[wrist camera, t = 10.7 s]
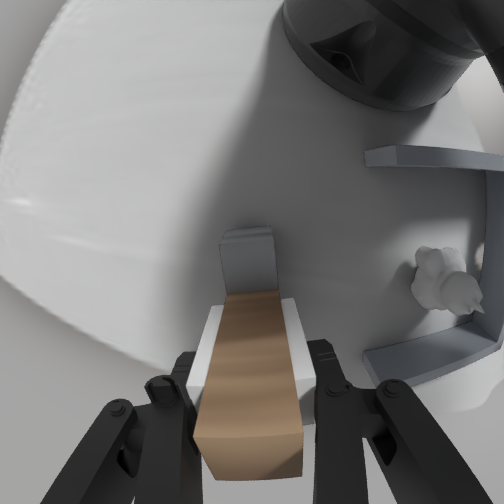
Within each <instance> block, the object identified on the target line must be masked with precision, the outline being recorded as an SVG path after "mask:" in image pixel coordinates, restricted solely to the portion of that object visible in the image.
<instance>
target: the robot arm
mask: <svg viewBox="0 0 504 504" xmlns="http://www.w3.org/2000/svg"><path fill="white" fill-rule="evenodd" d="M282 17H283V25H284V29H285V32H286V35H287V37H288V39H289V42H290V43H291V45H292V47H293V49H294V50H295V52H296V53H297V54H298V56H299V57H300V58H301V60H302V61H303V62H304V63H305V64H306V65H307V66H308V67H309V68H310V69H311V70H312V71H313V72H314V73H315V74H316V75H317V76H318V77H319V78H321V79H322V80H323V81H324V82H326V83H327V84H328V85H330V86H331V87H333V88H334V89H336V90H337V91H339V92H340V93H342V94H344V95H346V96H348V97H349V98H351V99H353V100H356V101H358V102H360V103H363V104H365V105H368V106H371V107H374V108H378V109H383V110H389V111H410V110H415V109H418V108H421V107H424V106H426V105H429V104H432V103H434V102H436V101H438V100H440V99H441V98H442V97H444V96H445V95H446V94H447V93H448V92H449V91H450V89H451V88H452V86H453V84H454V83H455V82H456V81H457V80H458V79H459V77H461V75H462V74H463V73H464V72H465V71H466V69H467V68H468V67H469V65H470V64H471V63H472V62H473V60H474V59H476V58H479V57H481V56H484V55H485V56H486V58H487V59H488V61H489V63H490V65H491V67H492V69H493V71H494V73H495V75H496V77H497V79H498V81H499V83H500V86H501V88H502V90H503V92H504V0H284V6H283V14H282ZM280 300H281V305H282V310H283V316H284V321H285V327H286V332H287V338H288V343H289V349H290V355H291V360H292V366H293V372H294V378H295V384H296V390H297V396H298V402H299V408H300V414H301V420H302V425H309V424H314V420H315V423H316V434H315V473H314V492H313V504H369V503H368V489H367V478H366V468H365V458H364V450H363V442H362V438H366V439H367V441H368V443H369V445H370V447H371V449H372V451H373V453H374V455H375V457H376V460H377V461H378V464H379V465H380V468H381V470H382V472H383V474H384V476H385V478H386V480H387V482H388V485H389V487H390V489H391V491H392V493H393V495H394V497H395V500H396V502H397V504H493V503H492V501H491V499H490V498H489V496H488V495H487V493H486V492H485V490H484V489H483V487H482V486H481V484H480V483H479V481H478V479H477V478H476V477H475V475H474V474H473V472H472V471H471V469H470V468H469V466H468V465H467V463H466V462H465V460H464V459H463V458H462V456H461V455H460V453H459V452H458V451H457V449H456V448H455V446H454V445H453V444H452V442H451V441H450V439H449V438H448V437H447V435H446V434H445V433H444V431H443V430H442V428H441V427H440V426H439V425H438V423H437V422H436V420H435V419H434V418H433V416H432V415H431V414H430V412H429V411H428V410H427V408H426V407H425V406H424V405H423V403H422V402H421V401H420V399H419V398H418V397H417V395H416V394H415V393H414V392H413V390H412V389H411V388H410V386H409V385H408V384H407V383H405V382H404V381H402V380H399V379H388V380H385V381H383V382H381V383H380V384H379V385H378V386H377V388H376V389H360V388H356V387H354V386H353V385H352V384H351V383H350V382H349V381H347V380H346V379H345V377H344V374H343V372H342V369H341V367H340V364H339V362H338V359H337V357H336V354H335V353H334V349H333V347H332V345H331V344H330V343H329V342H328V341H327V340H325V339H321V340H314V341H307V342H306V339H305V335H304V332H303V328H302V325H301V321H300V318H299V314H298V311H297V308H296V304H295V301H294V298H287V299H280ZM223 308H224V305H216V306H212V307H211V310H210V313H209V316H208V319H207V322H206V325H205V328H204V331H203V334H202V337H201V340H200V343H199V346H198V349H197V352H183V353H182V354H181V355H180V356H179V357H178V358H177V360H176V363H175V365H174V366H175V367H174V368H173V370H172V373H171V375H161V376H156V377H154V378H152V379H150V380H149V381H148V382H147V383H146V385H145V386H144V387H145V389H146V392H147V394H148V396H149V398H150V400H151V403H150V404H146V405H140V406H134V407H133V405H132V404H131V402H130V401H128V400H126V399H116V400H112V401H111V402H109V403H107V405H106V406H105V407H104V408H103V409H102V411H101V412H100V414H99V415H98V417H97V418H96V419H95V421H94V423H93V424H92V425H91V427H90V428H89V430H88V431H87V433H86V434H85V435H84V437H83V438H82V440H81V441H80V443H79V444H78V446H77V447H76V449H75V450H74V452H73V453H72V455H71V456H70V458H69V459H68V461H67V462H66V464H65V466H64V467H63V468H62V470H61V472H60V473H59V475H58V476H57V478H56V479H55V481H54V483H53V484H52V486H51V487H50V489H49V490H48V492H47V494H46V495H45V497H44V498H43V500H42V502H41V503H40V504H131V503H132V501H133V499H134V496H135V500H134V504H203V492H202V463H201V452H200V450H199V448H198V446H197V444H196V442H195V440H194V438H193V435H194V430H195V426H196V421H197V417H198V413H199V408H200V404H201V399H202V395H203V391H204V387H205V382H206V378H207V374H208V370H209V365H210V361H211V357H212V353H213V349H214V344H215V340H216V336H217V332H218V328H219V324H220V320H221V316H222V312H223Z"/></svg>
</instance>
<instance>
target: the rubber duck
mask: <svg viewBox="0 0 504 504" xmlns="http://www.w3.org/2000/svg"><path fill="white" fill-rule="evenodd" d="M415 259H416V263H417V265H418V266H419V267H418V269H417V271H416V274H415V280H414V281H413V283H412V284H411V292H412V294H413V296H414V297H415V298H416V300H417V301H418V303H419V304H420V305H421V306H422V307H423V308H425V309H429V310H433V309H438V310H445V309H448V310H449V311H450V312H452V313H453V314H454V315H457V316H460V315H464V314H471V313H472V312H473V311H474V309H475V310H477V311H479V312H481V313H485V312H484V310H483V308H482V307H481V305H480V304H479V303H480V301H481V299H482V298H483V294H482V292H481V290H480V287H479V285H478V282H477V280H476V279H475V278H474V277H473V276H471V275H469V274H467V273H466V264H465V261H464V259H463V257H462V255H461V253H460V252H459V251H458V250H457V249H454V248H450V247H445V248H443V249H442V250H439V249H432V248H430V247H427V246H421V247H420V248H419V249H418V250H417V251H416V254H415Z"/></svg>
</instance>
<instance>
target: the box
mask: <svg viewBox="0 0 504 504" xmlns="http://www.w3.org/2000/svg"><path fill="white" fill-rule="evenodd" d="M364 157H365V167H441V168H460V169H474V170H486V197H487V205H486V232H485V245H484V255H483V263H482V271H481V277H480V283H479V287H480V290H481V292H482V294H483V298H482V299H481V301H480V303H479V304H480V305H481V307H482V308H483V310H484V312H485V313H481V312H479V311H477V310H475V309H474V313H473V317H472V321H470V322H467V323H465V324H462V325H459V326H456V327H453V328H450V329H447V330H444V331H441V332H438V333H434V334H431V335H428V336H424V337H421V338H417V339H414V340H410V341H406V342H402V343H398V344H394V345H390V346H386V347H382V348H377V349H373V350H368V351H364V353H363V363H364V365H365V367H366V369H367V371H368V373H369V375H370V377H371V379H372V381H373V383H374V385H375V387H376V388H377V386H378V385H379V384H380V383H381V382H383V381H385V380H388V379H399V380H402V381H404V382H405V383H407V384H408V385H409V386H410V387H413V386H416V385H419V384H421V383H424V382H427V381H430V380H433V379H435V378H438V377H441V376H443V375H446V374H448V373H451V372H453V371H455V370H458V369H460V368H462V367H465V366H467V365H469V364H471V363H473V362H476V361H478V360H480V359H482V358H484V357H486V356H488V355H490V354H492V353H494V352H496V351H497V350H499V349H500V348H501V345H502V343H503V340H504V156H500V155H495V154H488V153H482V152H475V151H468V150H460V149H451V148H440V147H428V146H412V145H391V146H386V147H381V148H376V149H371V150H367V151H364Z"/></svg>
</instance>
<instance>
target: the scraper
mask: <svg viewBox="0 0 504 504" xmlns="http://www.w3.org/2000/svg"><path fill="white" fill-rule="evenodd" d="M219 249H220V255H221V262H222V268H223V274H224V281H225V287H226V293H227V295H226V299H225V304H224V308H223V312H222V316H221V320H220V324H219V328H218V332H217V336H216V340H215V344H214V349H213V353H212V357H211V361H210V365H209V370H208V374H207V378H206V382H205V387H204V391H203V395H202V399H201V404H200V408H199V413H198V417H197V421H196V426H195V430H194V435H193V438H194V440H195V442H196V444H197V446H198V448H199V450H200V452H201V454H202V456H203V458H204V460H205V462H206V464H207V466H208V468H209V469H210V471H211V473H212V475H213V477H214V478H215V480H225V481H248V480H271V479H283V478H293V477H301V476H302V467H303V426H302V420H301V414H300V408H299V402H298V396H297V390H296V384H295V378H294V372H293V366H292V360H291V355H290V349H289V343H288V338H287V332H286V327H285V321H284V316H283V310H282V305H281V300H280V294H279V289H278V278H277V267H276V257H275V247H274V238H273V234H272V231H271V227H270V226H262V227H253V228H244V229H236V230H227V231H226V233H225V234H224V236H223V238H222V240H221V241H220V243H219Z"/></svg>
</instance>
